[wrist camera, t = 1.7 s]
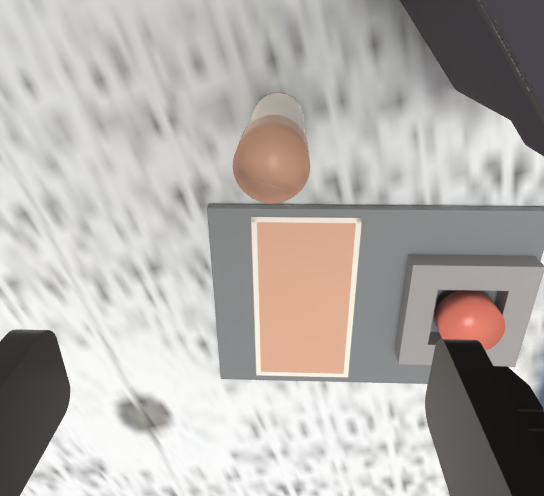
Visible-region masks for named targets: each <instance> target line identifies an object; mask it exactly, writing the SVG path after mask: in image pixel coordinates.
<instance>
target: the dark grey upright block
mask: <svg viewBox="0 0 544 496" xmlns="http://www.w3.org/2000/svg"><path fill="white" fill-rule="evenodd" d="M400 1H401V2H402V4H403V6H404V7H405V9H406V10H407V12H408V14H409V15H410V17H411V18H412V20H413V22H414V23H415V25H416V27H417V28H418V30H419V31H420V33H421V35H422V36H423V38H424V39H425V41H426V43H427V44H428V46H429V47H430V49H431V51H432V52H433V54H434V56H435V57H436V59H437V60H438V62H439V64H440V65H441V67H442V68H443V70H444V72H445V73H446V75H447V76H448V78H449V80H450V81H451V83H452V85H453V86H454V88H455V89H456V90H457V91H458V92H460V93H462V94H464V95H466V96H468V97H469V98H471V99H473V100H475V101H477V102H478V103H480V104H482V105H484V106H486V107H488V108H489V109H491V110H493V111H495V112H497V113H498V114H500V115H502V116H504V117H506V118H508V119H509V120H511V122H512V123H513V125H514V127H515V128H516V130H517V132H518V133H519V135H520V137H521V139H522V140H523V142H524V143H525V145H527V146H528V147H530V148H531V149H533V150H534V151H536V152H538V153H539V154H541V155H542V156H544V0H400Z"/></svg>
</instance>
